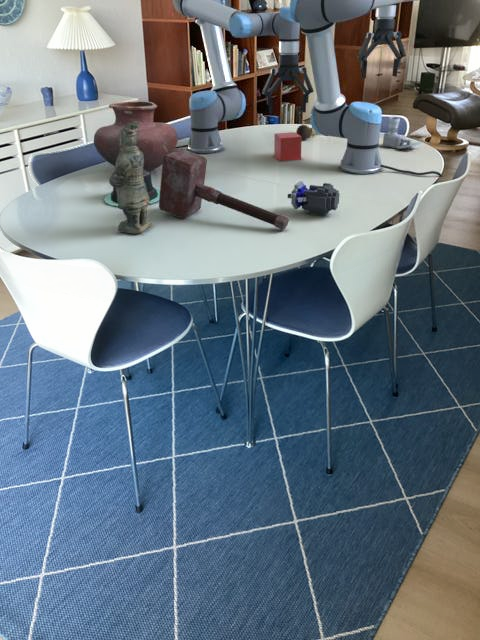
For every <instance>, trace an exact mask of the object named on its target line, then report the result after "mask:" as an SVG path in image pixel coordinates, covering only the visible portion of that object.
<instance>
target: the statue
mask: <svg viewBox="0 0 480 640" xmlns="http://www.w3.org/2000/svg"><path fill="white" fill-rule="evenodd" d="M138 127H139V123H138V122H137V121H133V122H131V123H128V124H127V125H126V126H125V127H124V128H123V129H121V130H120V133H119V138H118V140H119V147H120V151H119V154H118V156H117V160H116V164H115V166H114V169H113V172H114V175H113V176H112V175H111V176H110V177H109V180H108V183H109V184H110V186H111V187H112V188H113V187H114V188H115V189H116V192H117V202H118V206H117V209H119V210H122V213H123V214H124V215H125V218H126V219H125V220H122V221H120V222H119V224H118V225H117V231H118V232H121V233H126V234H134V235H136V234H142V233H143V232H145V231H146V230H147V229H148V228H150V227H151V226H152V225H153V223H152V220H150V219H148V216H147V214H148V213H147V212H148V211H147V209H148V206H149V205H150V197H149V195H148V192H147V188H146V184H145V182H144V178H143V166H144V156H143V153H142V151H141V150H139V149H138V147H137V146H136V143H137V138H136V131H137V130H138Z"/></svg>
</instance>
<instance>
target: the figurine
mask: <svg viewBox="0 0 480 640" xmlns="http://www.w3.org/2000/svg"><path fill="white" fill-rule="evenodd" d="M305 123H306V122H305V120H302V123H301V125H298V127H297V128H296V131H295V133H297V134H298V135H300V136H301V137H302V141H304V140H308V139H310V138H311V137H312V136H313V135H312V134H317V133H316V132H315V131H314V130H313V128H312V127H310V126H308V125H305Z"/></svg>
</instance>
